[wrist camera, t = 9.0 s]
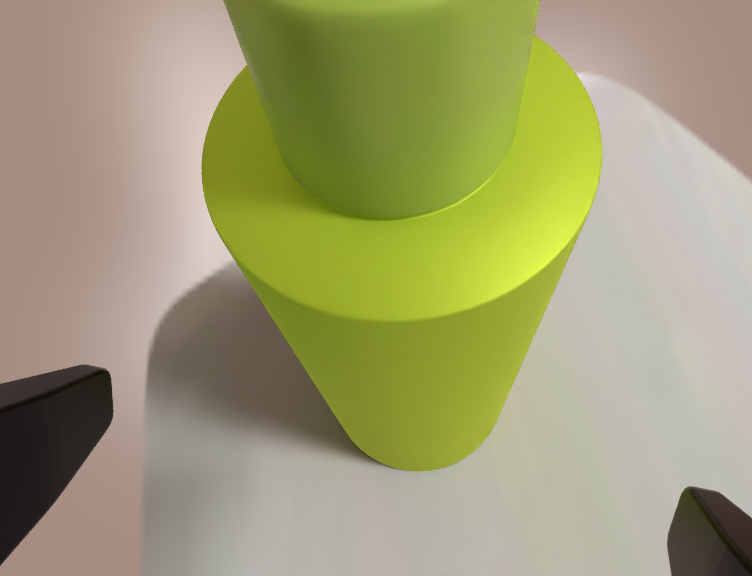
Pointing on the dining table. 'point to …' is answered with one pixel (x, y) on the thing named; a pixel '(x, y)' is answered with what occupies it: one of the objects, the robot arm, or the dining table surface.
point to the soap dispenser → (402, 203)
